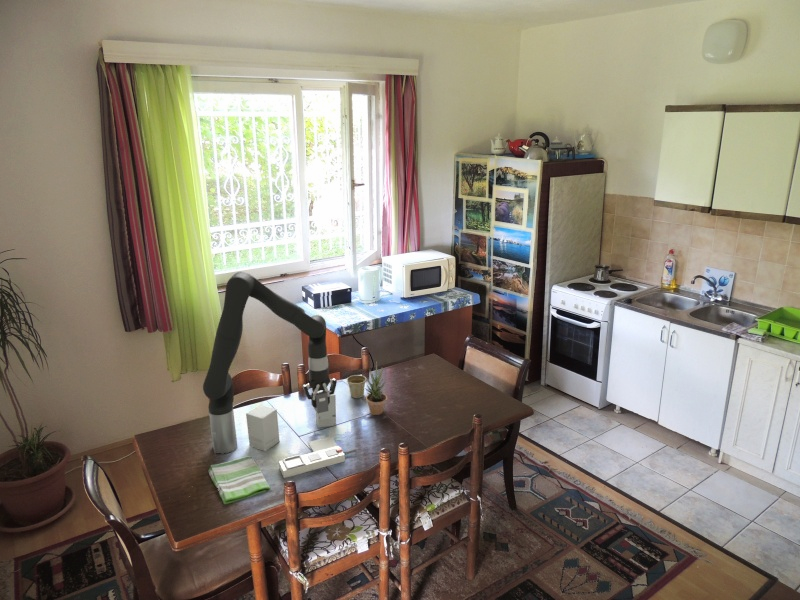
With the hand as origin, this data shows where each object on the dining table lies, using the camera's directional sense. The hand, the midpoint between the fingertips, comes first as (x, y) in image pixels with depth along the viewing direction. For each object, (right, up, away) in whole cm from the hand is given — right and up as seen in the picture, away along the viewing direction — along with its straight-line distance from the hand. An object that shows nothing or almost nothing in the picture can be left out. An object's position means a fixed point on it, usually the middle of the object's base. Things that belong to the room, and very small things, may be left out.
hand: (321, 405), depth 224 cm
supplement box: (-24, -17, +8) cm, 31 cm away
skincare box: (-1, -12, +23) cm, 26 cm away
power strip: (0, -21, -6) cm, 22 cm away
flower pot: (+11, -4, +49) cm, 50 cm away
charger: (0, -2, +1) cm, 2 cm away
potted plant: (+21, -9, +33) cm, 40 cm away
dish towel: (-28, -25, -16) cm, 41 cm away
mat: (0, -18, +6) cm, 18 cm away
